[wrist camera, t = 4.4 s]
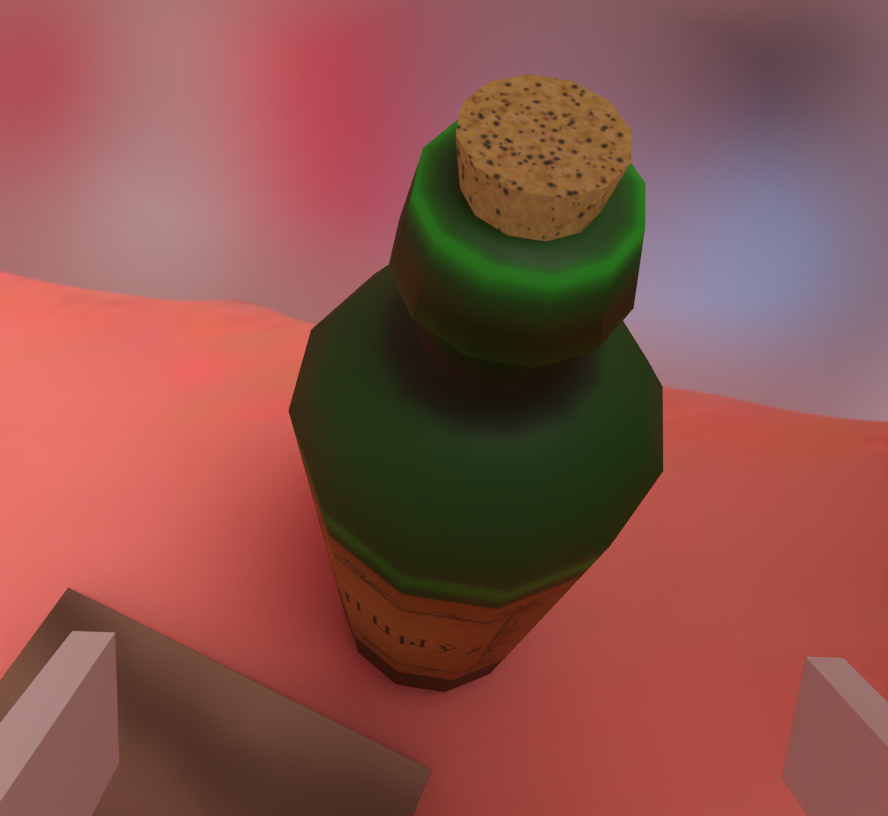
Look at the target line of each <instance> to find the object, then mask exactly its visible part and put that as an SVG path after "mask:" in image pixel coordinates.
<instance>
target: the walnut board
mask: <svg viewBox="0 0 888 816" xmlns="http://www.w3.org/2000/svg"><path fill="white" fill-rule="evenodd" d="M72 631H87V632H115V642H116V674H117V706H118V738H119V764H118V766H117V768H116V770H115V772H114V774H113V776H112V777H111V779H110V781H109V783H108V785H107V787H106V789H105V791H104V793H103V795H102V797H101V799H100V801H99V803H98V805H97V807H96V809H95V811H94V813H93V815H92V816H413V813H414V811H415V808H416V806H417V804H418V801H419V799H420V796H421V794H422V792H423V789H424V787H425V784H426V782H427V780H428V777H429V775H430V772H431V769H429V768H427V767H425V766H423V765H421V764H419V763H417V762H415V761H413V760H411V759H409V758H407V757H405V756H403V755H401V754H399V753H397V752H395V751H393V750H391V749H389V748H387V747H385V746H383V745H381V744H379V743H377V742H375V741H373V740H371V739H369V738H367V737H365V736H363V735H361V734H359V733H357V732H355V731H353V730H351V729H349V728H347V727H345V726H343V725H341V724H339V723H337V722H335V721H333V720H331V719H329V718H327V717H325V716H323V715H321V714H319V713H317V712H315V711H313V710H311V709H309V708H307V707H305V706H303V705H301V704H299V703H297V702H295V701H293V700H291V699H289V698H287V697H285V696H283V695H281V694H279V693H277V692H275V691H273V690H271V689H269V688H267V687H265V686H263V685H261V684H259V683H257V682H255V681H253V680H251V679H249V678H247V677H245V676H243V675H242V674H240V673H238V672H236V671H234V670H232V669H230V668H228V667H226V666H224V665H222V664H220V663H218V662H216V661H214V660H212V659H210V658H208V657H206V656H204V655H202V654H200V653H198V652H196V651H194V650H192V649H190V648H188V647H186V646H184V645H182V644H180V643H178V642H176V641H174V640H172V639H170V638H168V637H166V636H164V635H162V634H160V633H158V632H156V631H154V630H152V629H150V628H148V627H146V626H144V625H142V624H140V623H138V622H136V621H134V620H132V619H130V618H128V617H126V616H124V615H122V614H120V613H118V612H116V611H114V610H112V609H110V608H108V607H106V606H104V605H102V604H100V603H98V602H96V601H94V600H92V599H90V598H88V597H86V596H84V595H82V594H80V593H78V592H76V591H74V590H72V589H70V588H68V589H67V590H66V591H65V593H64V594H63V596H62V597H61V598H60V600H59V601H58V602H57V604H56V605H55V607H54V608H53V609H52V611H51V612H50V613H49V615H48V616H47V617H46V619H45V620H44V622H43V623H42V624H41V626H40V627H39V628H38V630H37V631H36V632H35V634H34V635H33V637H32V638H31V639H30V641H29V642H28V643H27V645H26V646H25V648H24V649H23V650H22V652H21V653H20V654H19V656H18V657H17V658H16V660H15V661H14V663H13V664H12V665H11V667H10V668H9V669H8V671H7V672H6V674H5V675H4V676H3V678H2V679H1V680H0V722H1V721H2V720H3V719H4V717H5V716H6V715H7V714H8V712H9V711H10V710H11V708H12V707H13V706H14V705H15V703H16V702H17V701H18V700H19V698H20V697H21V696H22V694H23V693H24V692H25V691H26V689H27V688H28V687H29V686H30V684H31V683H32V682H33V680H34V679H35V678H36V677H37V675H38V674H39V673H40V671H41V670H42V669H43V668H44V666H45V665H46V664H47V663H48V661H49V660H50V659H51V657H52V656H53V655H54V654H55V652H56V651H57V650H58V649H59V647H60V646H61V645H62V643H63V642H64V641H65V640H66V638H67V637H68V636H69V635H70V633H71V632H72Z"/></svg>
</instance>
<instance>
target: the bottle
mask: <svg viewBox="0 0 888 816" xmlns="http://www.w3.org/2000/svg"><path fill="white" fill-rule="evenodd" d="M631 132H632V131H631V130H630V128H629V127H628V126H627V124H626V123H625V122H624V120H623V119H622V117H620V115H619V113H618V112H617V111H616V109H615V108H614V107H613V105H612V104H611V103H610V101H608V100H606V99H604V98H602V97H600V96H599V95H597V94H595V93H593V92H591V91H589V90H588V89H586V88H584V87H582V86H580V85H579V84H577V83H575V82H573V81H568V80H561V79H556V78H549V77H543V76H537V75H531V74H527V75H522V76H517V77H512V78H507V79H501V80H497V81H491V82H488V83H487V84H486V85H484V86H483V87H482V88H480V89H479V90H478V91H477V92H475V93H474V94H473V95H472V96H470V97H469V98H468V99H467V100H466V101H464V102H463V103H462V105H461V109H460V115H459V119H458V120H457V121H456V122H454V123H453V124H452V125H451V126H449V127H448V128H447V129H446V130H445V131H443V132H442V133H441V134H440V135H438V136H437V137H436V138H435V139H433V140H432V141H431V142H430V143H428V144H427V145H426V146H425V147H424V148H423V151H422V154H421V157H420V160H419V163H418V165H417V168H416V171H415V174H414V177H413V180H412V183H411V186H410V189H409V192H408V195H407V198H406V201H405V204H404V207H403V210H402V213H401V216H400V219H399V223H398V227H397V232H396V236H395V240H394V245H393V249H392V254H391V258H390V262H389V265H387V266H386V267H384V268H383V269H381V270H380V271H378V272H377V273H375V274H374V275H373V276H371V278H369V279H368V280H367V281H366V282H365V283H364V284H363V285H361V286H360V287H359V288H358V289H357V290H356V291H355V292H353V293H352V294H351V295H350V296H349V297H348V298H347V299H346V300H344V301H343V302H342V303H341V304H340V305H339V306H338V307H337V308H335V309H334V310H333V311H332V312H331V313H330V314H329V315H327V316H326V317H325V318H324V319H323V320H322V321H321V322H320V323H318V324H317V325H316V326H315V327H314V328H313V329H312V330H311V332H310V336H309V340H308V343H307V347H306V350H305V354H304V357H303V361H302V365H301V368H300V372H299V375H298V379H297V382H296V386H295V390H294V393H293V397H292V400H291V404H290V407H289V414H290V417H291V421H292V424H293V428H294V432H295V435H296V439H297V443H298V446H299V450H300V453H301V457H302V461H303V464H304V468H305V471H306V475H307V479H308V482H309V486H310V489H311V493H312V497H313V500H314V504H315V508H316V511H317V515H318V518H319V522H320V526H321V529H322V533H323V536H324V540H325V544H326V547H327V551H328V554H329V558H330V562H331V565H332V569H333V573H334V576H335V580H336V583H337V587H338V591H339V594H340V598H341V601H342V605H343V608H344V611H345V614H346V617H347V620H348V623H349V626H350V629H351V631H352V634H353V637H354V640H355V643H356V646H357V649H358V652H359V653H360V654H361V655H363V656H364V657H365V658H366V659H367V660H369V661H370V662H371V663H372V664H373V665H374V666H376V667H377V668H378V669H379V670H380V671H382V672H383V673H384V674H385V675H386V676H388V677H389V678H390V679H391V680H392V681H394V682H395V683H396V684H400V685H407V686H413V687H419V688H425V689H431V690H438V691H444V692H446V691H448V690H451V689H453V688H455V687H458V686H460V685H463V684H465V683H468V682H470V681H473V680H475V679H477V678H480V677H482V676H485V675H487V674H490V673H491V672H492V671H493V670H494V669H495V668H496V666H497V665H498V664H499V663H500V662H501V661H502V660H503V659H504V658H505V657H506V656H507V655H508V654H509V653H510V652H511V651H512V649H513V648H514V647H515V646H516V645H517V644H518V643H519V642H520V641H521V640H522V639H523V638H524V637H525V636H526V635H527V634H528V632H529V631H530V630H531V629H532V628H533V627H534V626H535V625H536V624H537V623H538V622H539V621H540V620H541V619H542V618H543V616H544V615H545V614H546V613H547V612H548V611H549V610H550V609H551V608H552V607H553V606H554V605H555V604H556V603H557V602H558V601H559V599H560V598H561V597H562V596H563V595H564V594H565V593H566V592H567V591H568V590H569V589H570V588H571V587H572V586H573V585H574V584H575V582H576V581H577V580H578V579H579V578H580V577H581V576H582V575H583V574H584V573H585V572H586V571H587V570H588V569H589V568H590V567H591V565H592V564H593V563H594V562H595V561H596V560H597V559H598V558H599V557H600V556H601V555H602V554H603V553H604V552H605V551H606V549H607V548H608V547H609V546H610V545H611V544H612V542H613V541H614V540H615V538H616V537H617V535H618V534H619V533H620V531H621V530H622V528H623V527H624V526H625V524H626V523H627V521H628V520H629V518H630V517H631V516H632V514H633V513H634V511H635V510H636V509H637V507H638V506H639V504H640V503H641V502H642V500H643V499H644V497H645V496H646V494H647V493H648V492H649V490H650V489H651V487H652V486H653V485H654V483H655V482H656V480H657V479H658V477H659V476H660V475H661V473H662V472H663V398H662V385H661V383H660V381H659V380H658V378H657V376H656V374H655V373H654V371H653V369H652V367H651V366H650V364H649V362H648V360H647V359H646V357H645V355H644V354H643V352H642V350H641V349H640V347H639V346H638V344H637V342H636V341H635V339H634V338H633V336H632V334H631V333H630V331H629V330H628V328H627V327H626V325H625V324H624V322H623V320H624V319H625V317H626V316H627V315H628V314H629V313H630V311H631V310H632V309H633V308H634V301H635V294H636V287H637V280H638V273H639V266H640V259H641V252H642V244H643V238H644V231H645V182H644V181H643V179H642V178H641V177H640V175H639V174H638V173H637V171H636V170H635V168H634V167H633V165H632V164H631Z"/></svg>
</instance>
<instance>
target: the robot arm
mask: <svg viewBox="0 0 888 816" xmlns="http://www.w3.org/2000/svg"><path fill="white" fill-rule="evenodd" d="M118 764H119V738H118V706H117V674H116V642H115V632H87V631H72V632H71V633H70V635H69V636H68V637H67V638H66V640H65V641H64V642H63V643H62V645H61V646H60V647H59V649H58V650H57V651H56V652H55V654H54V655H53V656H52V657H51V659H50V660H49V661H48V663H47V664H46V665H45V666H44V668H43V669H42V670H41V671H40V673H39V674H38V675H37V677H36V678H35V679H34V680H33V682H32V683H31V684H30V686H29V687H28V688H27V689H26V691H25V692H24V693H23V694H22V696H21V697H20V698H19V700H18V701H17V702H16V703H15V705H14V706H13V707H12V708H11V710H10V711H9V712H8V714H7V715H6V716H5V717H4V719H3V720H2V721H1V722H0V816H92V815H93V813H94V811H95V809H96V807H97V805H98V803H99V801H100V799H101V797H102V795H103V793H104V791H105V789H106V787H107V785H108V783H109V781H110V779H111V777H112V776H113V774H114V772H115V770H116V768H117V766H118ZM782 779H783V781H784V782H785V784H786V785H787V787H788V788H789V790H790V791H791V793H792V794H793V796H794V797H795V799H796V800H797V802H798V803H799V805H800V806H801V808H802V809H803V811H804V812H805V814H806V815H807V816H888V702H887V701H886V700H885V699H884V698H883V697H882V696H881V695H880V694H879V693H878V692H877V691H876V690H875V689H874V688H873V687H872V686H871V685H870V684H869V683H868V682H867V681H866V680H865V679H864V678H863V677H862V676H861V675H860V674H859V673H858V672H857V671H856V670H855V669H854V668H853V667H852V666H851V665H850V664H849V663H848V662H847V661H846V660H845V659H844V658H833V657H806V658H805V663H804V668H803V673H802V678H801V683H800V688H799V693H798V698H797V703H796V709H795V714H794V719H793V724H792V729H791V734H790V739H789V744H788V749H787V754H786V759H785V764H784V769H783V775H782Z"/></svg>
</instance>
